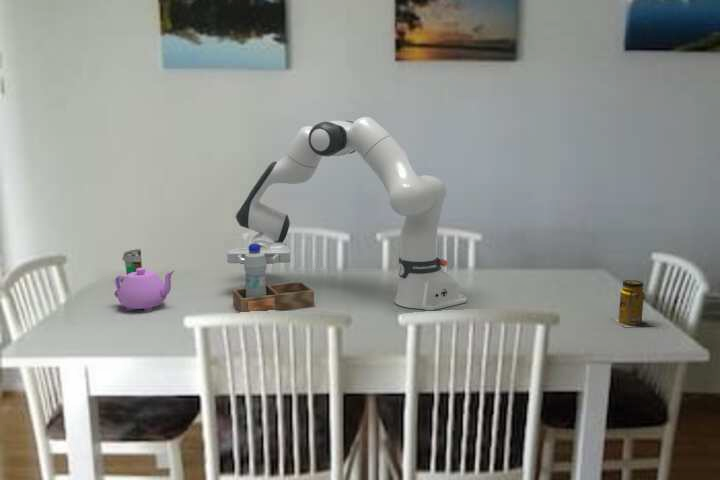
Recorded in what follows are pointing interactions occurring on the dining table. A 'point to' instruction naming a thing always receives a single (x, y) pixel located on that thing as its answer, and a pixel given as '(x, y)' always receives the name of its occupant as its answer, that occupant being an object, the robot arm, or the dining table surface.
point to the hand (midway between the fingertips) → (257, 261)
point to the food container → (132, 260)
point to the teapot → (142, 289)
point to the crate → (275, 298)
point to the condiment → (631, 305)
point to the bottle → (255, 272)
